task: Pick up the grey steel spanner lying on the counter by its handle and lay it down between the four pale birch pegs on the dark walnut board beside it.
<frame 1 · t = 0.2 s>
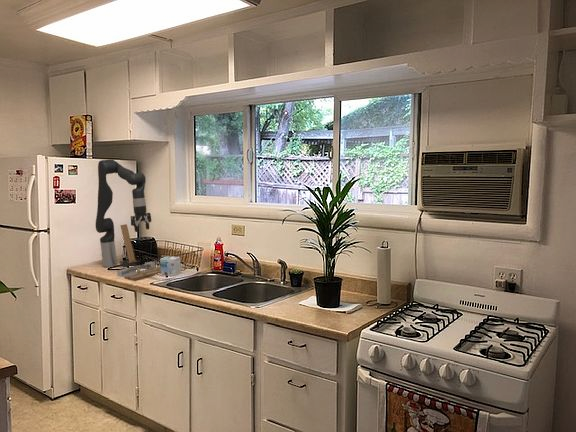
hand: (142, 230, 300), 28 cm above the worktop, tool pointing down, fingers open, 8 cm apart
tool board: (148, 274, 302), on the worktop
light bulb box: (171, 274, 299), on the worktop
hammer: (132, 267, 323), on the worktop
spanner: (137, 271, 311), on the worktop
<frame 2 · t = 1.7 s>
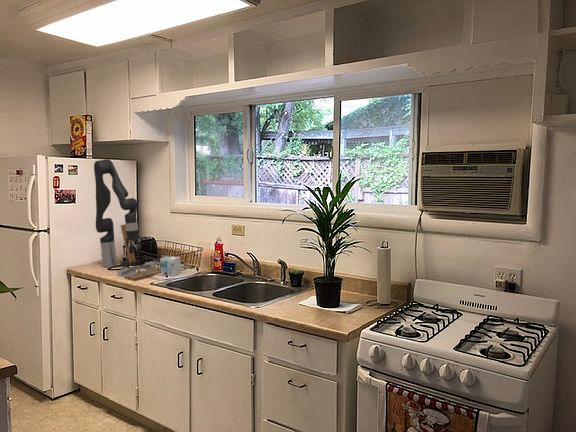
hand: (135, 254, 309), 12 cm above the worktop, tool pointing down, fingers open, 8 cm apart
nothing on the worktop moved.
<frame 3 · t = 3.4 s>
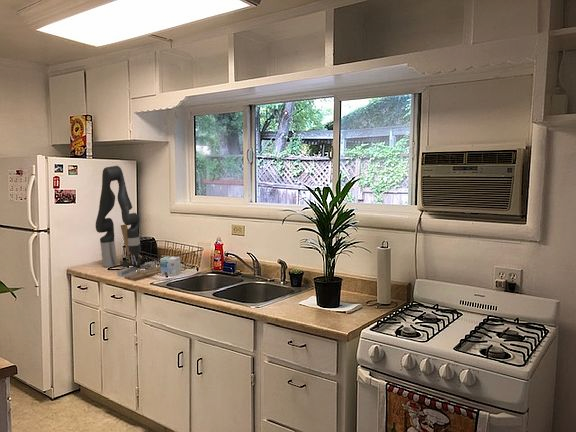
hand: (137, 269, 310), 1 cm above the worktop, tool pointing down, fingers closed on spanner, 3 cm apart
spanner: (137, 271, 311), on the worktop, touching gripper
everything else where it was.
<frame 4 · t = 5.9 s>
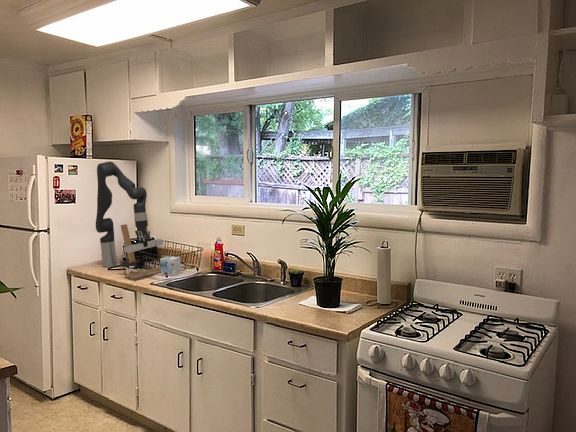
hand: (144, 246, 300), 18 cm above the worktop, tool pointing down, fingers closed on spanner, 3 cm apart
spanner: (144, 248, 300), point 17 cm above the worktop, touching gripper
everything else where it was.
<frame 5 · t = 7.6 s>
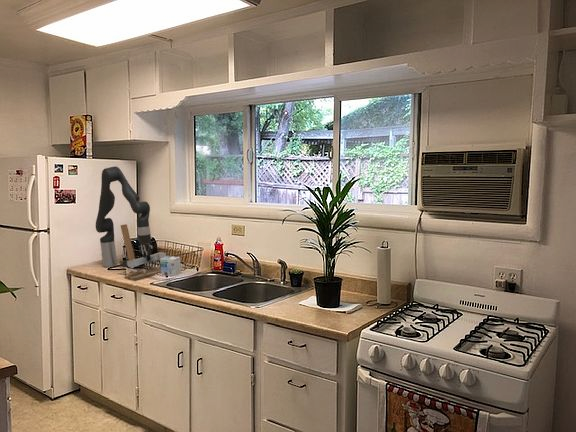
hand: (147, 260, 301), 9 cm above the worktop, tool pointing down, fingers closed on spanner, 3 cm apart
spanner: (147, 262, 301), point 8 cm above the worktop, touching gripper
everything else where it was.
when the fingers open (4 cm above the worktop, at t = 8.8 s): spanner drops 1 cm, resting on tool board.
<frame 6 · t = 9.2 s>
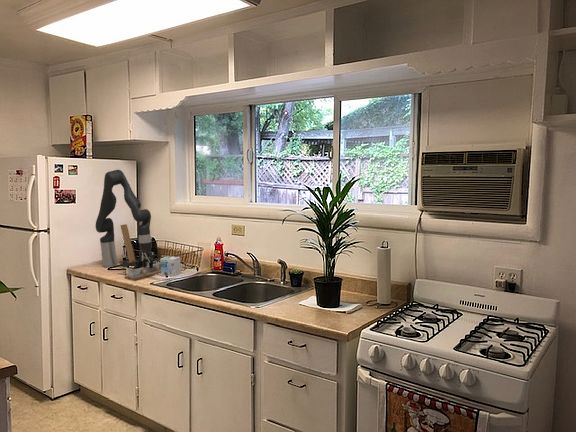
hand: (148, 267, 302), 5 cm above the worktop, tool pointing down, fingers open, 6 cm apart
spanner: (148, 271, 302), point 1 cm above the worktop, touching tool board
everything else where it was.
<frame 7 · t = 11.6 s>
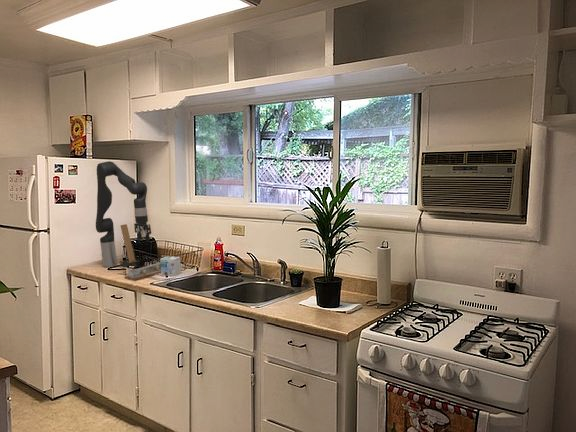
hand: (143, 240, 300), 22 cm above the worktop, tool pointing down, fingers open, 8 cm apart
nothing on the worktop moved.
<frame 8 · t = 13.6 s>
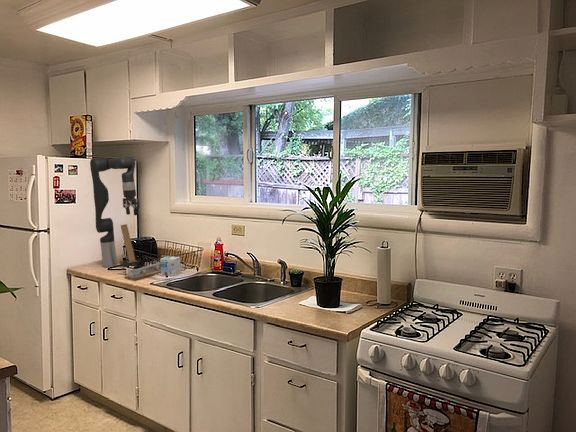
hand: (132, 214, 300), 38 cm above the worktop, tool pointing down, fingers open, 8 cm apart
nothing on the worktop moved.
at the end: spanner 0.2 cm off-centre on the tool board, point 1.5 cm above the tool board's base; spanner tilted 0°; the gripper is holding nothing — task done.
